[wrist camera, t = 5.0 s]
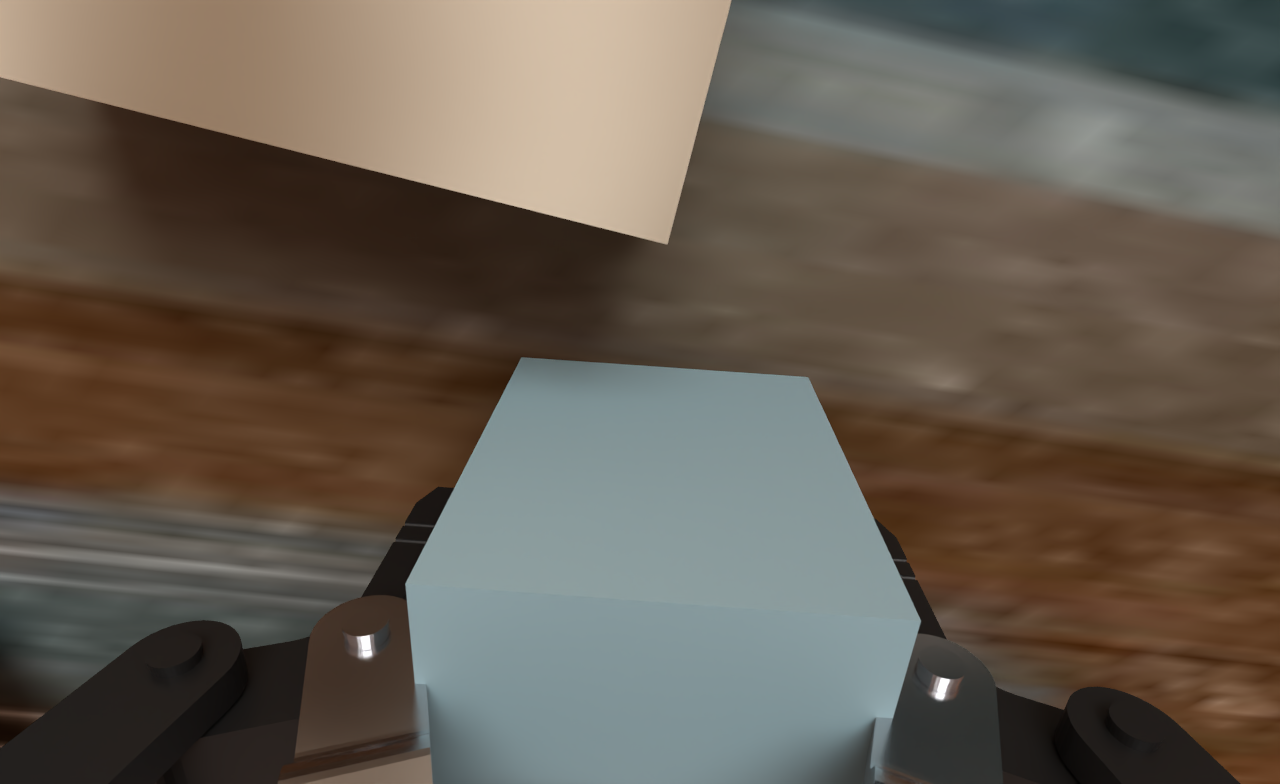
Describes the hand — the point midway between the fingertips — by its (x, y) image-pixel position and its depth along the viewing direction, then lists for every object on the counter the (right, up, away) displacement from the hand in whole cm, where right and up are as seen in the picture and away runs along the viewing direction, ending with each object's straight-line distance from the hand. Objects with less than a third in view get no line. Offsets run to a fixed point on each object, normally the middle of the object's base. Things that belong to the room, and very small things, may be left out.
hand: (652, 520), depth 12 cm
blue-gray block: (0, 0, +1) cm, 1 cm away
